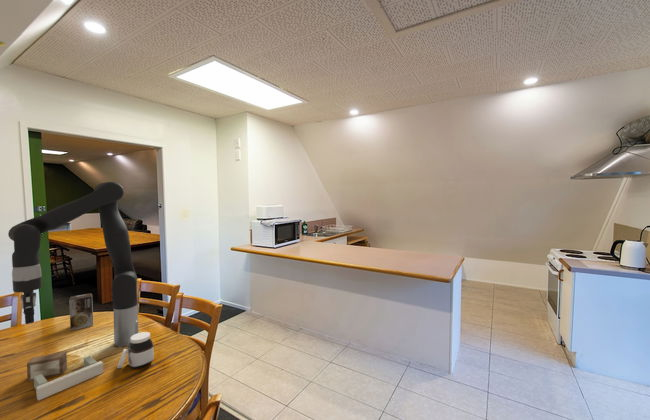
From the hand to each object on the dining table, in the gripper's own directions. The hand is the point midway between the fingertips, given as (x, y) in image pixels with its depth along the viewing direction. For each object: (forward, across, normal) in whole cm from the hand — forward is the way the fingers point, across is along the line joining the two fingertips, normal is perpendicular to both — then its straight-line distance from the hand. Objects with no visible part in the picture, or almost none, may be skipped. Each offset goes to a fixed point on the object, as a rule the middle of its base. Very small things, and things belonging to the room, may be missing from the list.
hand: (30, 319), depth 106 cm
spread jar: (+23, +19, +29) cm, 41 cm away
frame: (+22, +3, +4) cm, 23 cm away
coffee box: (+22, -40, +17) cm, 49 cm away
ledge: (+22, +13, +9) cm, 27 cm away
